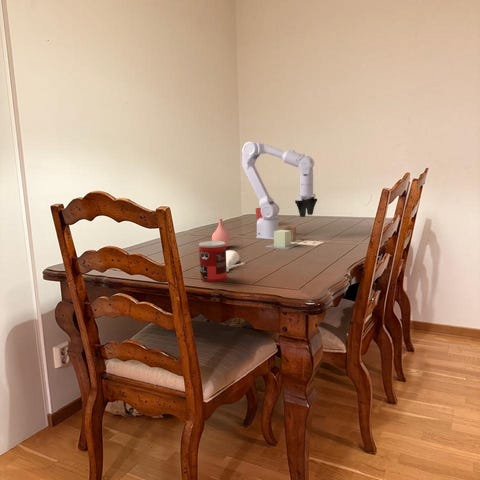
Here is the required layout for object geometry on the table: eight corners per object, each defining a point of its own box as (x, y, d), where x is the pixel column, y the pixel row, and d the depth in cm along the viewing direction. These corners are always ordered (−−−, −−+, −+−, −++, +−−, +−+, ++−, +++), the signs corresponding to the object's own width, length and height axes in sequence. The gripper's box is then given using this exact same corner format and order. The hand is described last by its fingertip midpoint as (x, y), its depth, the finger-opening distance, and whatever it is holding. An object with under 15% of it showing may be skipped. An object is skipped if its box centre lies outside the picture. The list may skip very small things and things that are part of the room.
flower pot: (277, 225, 239) (277, 207, 237) (272, 228, 229) (272, 209, 227) (259, 224, 242) (258, 207, 240) (253, 227, 232) (252, 209, 230)
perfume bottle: (212, 246, 182) (211, 217, 180) (230, 246, 182) (230, 217, 180) (211, 250, 175) (210, 220, 173) (230, 249, 175) (229, 219, 173)
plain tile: (274, 242, 188) (274, 241, 188) (284, 239, 195) (284, 238, 195) (293, 244, 183) (293, 243, 183) (302, 240, 190) (302, 240, 190)
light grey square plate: (265, 248, 176) (265, 246, 176) (277, 243, 185) (277, 242, 184) (287, 250, 171) (287, 248, 171) (298, 245, 179) (298, 244, 179)
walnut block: (281, 241, 188) (281, 227, 187) (285, 239, 192) (285, 226, 191) (292, 242, 186) (292, 228, 185) (296, 240, 190) (296, 226, 189)
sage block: (274, 246, 177) (273, 231, 176) (280, 244, 181) (279, 229, 180) (284, 247, 174) (284, 232, 173) (290, 245, 178) (290, 230, 177)
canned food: (200, 276, 135) (198, 241, 133) (226, 275, 136) (225, 240, 134) (200, 282, 128) (198, 245, 126) (227, 281, 128) (226, 244, 126)
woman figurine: (247, 248, 155) (241, 263, 137) (248, 260, 156) (242, 277, 138) (215, 248, 156) (205, 263, 139) (215, 260, 157) (206, 276, 140)
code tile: (295, 244, 182) (295, 243, 182) (305, 240, 190) (305, 240, 190) (315, 246, 178) (315, 245, 178) (324, 242, 185) (324, 241, 185)
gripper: (307, 185, 182) (307, 218, 184) (321, 183, 194) (321, 214, 196) (292, 185, 186) (292, 217, 188) (307, 183, 198) (307, 213, 200)
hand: (306, 215), depth 193 cm, fingers open, 7 cm apart
